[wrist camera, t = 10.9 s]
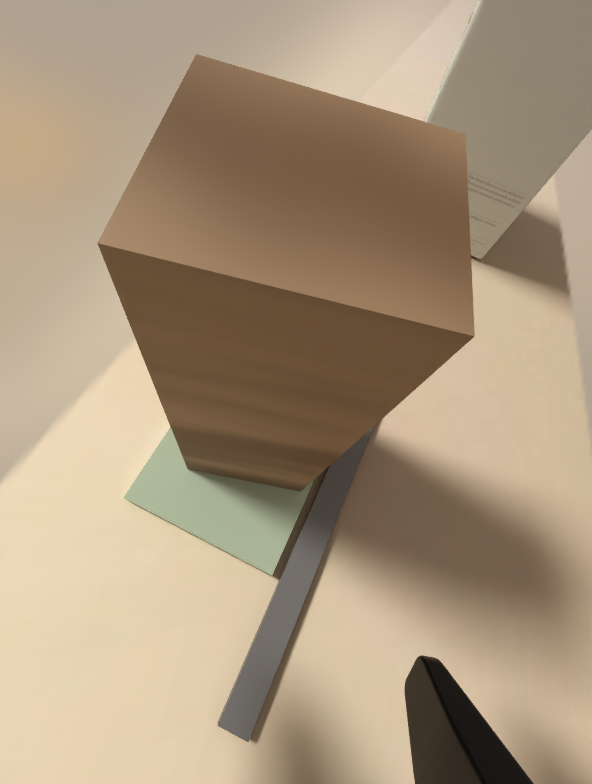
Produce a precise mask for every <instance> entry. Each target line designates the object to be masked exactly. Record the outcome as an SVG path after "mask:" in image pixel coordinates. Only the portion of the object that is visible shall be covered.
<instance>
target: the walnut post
mask: <svg viewBox="0 0 592 784" xmlns="http://www.w3.org/2000/svg"><path fill="white" fill-rule="evenodd" d="M98 246H99V248H100V251H101V253H102V255H103V258H104V261H105V263H106V265H107V268H108V271H109V273H110V276H111V278H112V281H113V283H114V286H115V288H116V291H117V293H118V296H119V298H120V301H121V303H122V306H123V308H124V311H125V313H126V316H127V318H128V321H129V323H130V326H131V328H132V331H133V333H134V336H135V338H136V341H137V344H138V346H139V349H140V351H141V354H142V356H143V359H144V361H145V364H146V366H147V369H148V371H149V374H150V376H151V379H152V381H153V384H154V386H155V389H156V391H157V394H158V396H159V399H160V401H161V404H162V406H163V409H164V411H165V414H166V416H167V419H168V421H169V424H170V426H171V429H172V431H173V434H174V436H175V439H176V441H177V444H178V446H179V449H180V451H181V454H182V456H183V459H184V462H185V464H186V467H187V469H190V470H195V471H200V472H205V473H210V474H215V475H220V476H225V477H230V478H235V479H240V480H245V481H250V482H255V483H260V484H265V485H270V486H275V487H280V488H285V489H290V490H295V491H300V492H301V491H302V490H303V489H304V488H305V487H306V486H307V485H308V484H309V483H311V482H312V481H313V480H314V479H315V478H316V477H317V476H318V475H320V474H321V473H322V472H323V471H324V470H325V469H326V468H327V467H329V466H330V465H331V464H332V463H333V462H334V461H335V460H336V459H337V458H339V457H340V456H341V455H342V454H343V453H344V452H345V451H346V450H348V449H349V448H350V447H351V446H352V445H353V444H354V443H355V442H357V441H358V440H359V439H360V438H361V437H362V436H363V435H364V434H366V433H367V432H368V431H369V430H370V429H371V428H372V427H373V426H374V425H376V424H377V423H378V422H379V421H380V420H381V419H382V418H383V417H385V416H386V415H387V414H388V413H389V412H390V411H391V410H392V409H394V408H395V407H396V406H397V405H398V404H399V403H400V402H401V401H402V400H404V399H405V398H406V397H407V396H408V395H409V394H410V393H411V392H413V391H414V390H415V389H416V388H417V387H418V386H419V385H420V384H422V383H423V382H424V381H425V380H426V379H427V378H428V377H429V376H431V375H432V374H433V373H434V372H435V371H436V370H437V369H438V368H439V367H441V366H442V365H443V364H444V363H445V362H446V361H447V360H448V359H450V358H451V357H452V356H453V355H454V354H455V353H456V352H457V351H459V350H460V349H461V348H462V347H463V346H464V345H465V344H466V343H468V342H469V341H470V340H471V339H472V338H473V337H474V315H473V292H472V269H471V246H470V223H469V200H468V177H467V154H466V134H464V133H460V132H457V131H454V130H450V129H447V128H443V127H440V126H437V125H433V124H430V123H427V122H423V121H420V120H417V119H413V118H410V117H406V116H403V115H400V114H396V113H393V112H390V111H386V110H383V109H379V108H376V107H373V106H369V105H366V104H363V103H359V102H356V101H352V100H349V99H346V98H342V97H339V96H335V95H332V94H329V93H326V92H322V91H319V90H315V89H312V88H309V87H305V86H302V85H298V84H295V83H292V82H288V81H285V80H282V79H278V78H275V77H271V76H268V75H265V74H261V73H258V72H255V71H251V70H248V69H245V68H241V67H238V66H235V65H231V64H228V63H224V62H221V61H218V60H214V59H211V58H207V57H204V56H201V55H197V54H196V56H195V58H194V60H193V61H192V63H191V65H190V67H189V69H188V71H187V73H186V75H185V77H184V79H183V81H182V83H181V85H180V86H179V88H178V90H177V92H176V94H175V96H174V98H173V100H172V102H171V104H170V105H169V108H168V110H167V111H166V113H165V115H164V117H163V119H162V121H161V123H160V125H159V127H158V128H157V130H156V132H155V134H154V136H153V138H152V140H151V142H150V144H149V146H148V148H147V149H146V152H145V153H144V155H143V157H142V159H141V161H140V163H139V165H138V167H137V169H136V171H135V172H134V174H133V176H132V178H131V180H130V182H129V184H128V186H127V188H126V190H125V192H124V193H123V195H122V197H121V199H120V201H119V203H118V205H117V207H116V209H115V211H114V213H113V215H112V216H111V218H110V220H109V222H108V224H107V226H106V228H105V230H104V232H103V234H102V236H101V237H100V239H99V241H98Z"/></svg>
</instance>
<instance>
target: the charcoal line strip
mask: <svg viewBox="0 0 592 784" xmlns="http://www.w3.org/2000/svg"><path fill="white" fill-rule="evenodd" d="M373 427H374V426H373ZM373 427H372V428H371V429H370V430H369V431H368V432H367V433H366V434H364V435H363V436H362V437H361V438H360V439H359V440H358V441H357V442H355V443H354V444H353V445H352V446H351V447H350V448H349V449H348V450H346V451H345V452H344V453H343V454H342V455H341V456H340V457H339V458H337V459H336V460H335V461H334V462H333V463H332V464H331V465H330V466H329V467H328V469H327V472H326V474H325V476H324V479H323V481H322V483H321V486H320V488H319V490H318V492H317V495H316V497H315V499H314V502H313V504H312V506H311V509H310V511H309V513H308V516H307V518H306V520H305V522H304V525H303V527H302V529H301V532H300V534H299V536H298V539H297V541H296V543H295V546H294V548H293V550H292V552H291V555H290V557H289V559H288V562H287V564H286V566H285V569H284V571H283V573H282V575H281V578H280V580H279V582H278V585H277V587H276V589H275V592H274V594H273V596H272V599H271V601H270V603H269V605H268V608H267V610H266V612H265V615H264V617H263V619H262V622H261V624H260V626H259V629H258V631H257V633H256V635H255V638H254V640H253V642H252V645H251V647H250V649H249V652H248V654H247V656H246V659H245V661H244V663H243V665H242V668H241V670H240V672H239V675H238V677H237V679H236V682H235V684H234V686H233V689H232V691H231V693H230V695H229V698H228V700H227V702H226V705H225V707H224V709H223V712H222V714H221V716H220V719H219V721H218V726H219V727H221V728H223V729H225V730H227V731H229V732H230V733H232V734H234V735H236V736H238V737H240V738H242V739H243V740H245V741H247V742H249V739H250V737H251V734H252V732H253V729H254V727H255V724H256V722H257V719H258V717H259V714H260V712H261V709H262V707H263V704H264V702H265V699H266V696H267V694H268V691H269V689H270V686H271V684H272V681H273V679H274V676H275V674H276V671H277V669H278V666H279V664H280V661H281V659H282V656H283V654H284V651H285V649H286V646H287V644H288V641H289V638H290V636H291V633H292V631H293V628H294V626H295V623H296V621H297V618H298V616H299V613H300V611H301V608H302V606H303V603H304V601H305V598H306V596H307V593H308V591H309V588H310V586H311V583H312V580H313V578H314V575H315V573H316V570H317V568H318V565H319V563H320V560H321V558H322V555H323V553H324V550H325V548H326V545H327V543H328V540H329V538H330V535H331V533H332V530H333V528H334V525H335V522H336V520H337V517H338V515H339V512H340V510H341V507H342V505H343V502H344V500H345V497H346V495H347V492H348V490H349V487H350V485H351V482H352V480H353V477H354V475H355V472H356V470H357V467H358V464H359V462H360V459H361V457H362V454H363V452H364V449H365V447H366V444H367V442H368V439H369V437H370V434H371V432H372V429H373Z"/></svg>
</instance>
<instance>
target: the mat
mask: <svg viewBox="0 0 592 784" xmlns="http://www.w3.org/2000/svg"><path fill="white" fill-rule="evenodd" d="M314 480H315V479H314ZM314 480H313V481H312V482H311V483H309V484H308V485H307V486H306V487H305V488H304V489H303V490H302V491H301V492H300V491H295V490H290V489H285V488H280V487H275V486H270V485H265V484H260V483H255V482H250V481H245V480H240V479H235V478H230V477H225V476H220V475H215V474H210V473H205V472H200V471H195V470H190V469H187V467H186V464H185V462H184V459H183V456H182V454H181V451H180V449H179V446H178V444H177V441H176V439H175V436H174V434H173V431H172V429H171V427H170V429H169V430H168V432H167V433H166V435H165V436H164V438H163V439H162V441H161V442H160V444H159V445H158V447H157V448H156V450H155V451H154V453H153V454H152V456H151V457H150V459H149V460H148V462H147V463H146V465H145V466H144V468H143V469H142V471H141V472H140V474H139V475H138V477H137V478H136V480H135V481H134V483H133V484H132V486H131V487H130V489H129V490H128V492H127V493H126V495H125V496H124V498H125V499H126V500H128V501H130V502H132V503H134V504H136V505H138V506H140V507H142V508H144V509H145V510H147V511H149V512H151V513H153V514H155V515H157V516H159V517H161V518H163V519H165V520H166V521H168V522H170V523H172V524H174V525H176V526H178V527H180V528H182V529H184V530H186V531H187V532H189V533H191V534H193V535H195V536H197V537H199V538H201V539H203V540H205V541H207V542H208V543H210V544H212V545H214V546H216V547H218V548H220V549H222V550H224V551H226V552H227V553H229V554H231V555H233V556H235V557H237V558H239V559H241V560H243V561H245V562H247V563H248V564H250V565H252V566H254V567H256V568H258V569H260V570H262V571H264V572H266V573H268V574H269V575H273V572H274V570H275V568H276V566H277V563H278V561H279V559H280V557H281V554H282V552H283V550H284V548H285V545H286V543H287V541H288V539H289V536H290V534H291V532H292V530H293V527H294V525H295V523H296V521H297V518H298V516H299V514H300V512H301V509H302V507H303V505H304V503H305V500H306V498H307V496H308V494H309V491H310V489H311V487H312V485H313V482H314Z"/></svg>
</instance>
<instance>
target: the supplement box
mask: <svg viewBox="0 0 592 784" xmlns="http://www.w3.org/2000/svg"><path fill="white" fill-rule="evenodd" d="M424 122H427V123H430V124H433V125H437V126H440V127H443V128H447V129H450V130H454V131H457V132H460V133H464V134H466V154H467V177H468V200H469V223H470V246H471V256H474V257H476V258H478V259H482V258H483V257H484V256H485V255H486V253H487V252H488V251H489V250H490V249H491V248H492V246H493V245H494V244H495V243H496V242H497V240H498V239H499V238H500V237H501V236H502V234H503V233H504V232H505V231H506V230H507V229H508V227H509V226H510V225H511V224H512V223H513V221H514V220H515V219H516V218H517V217H518V216H519V214H520V213H521V212H522V211H523V210H524V208H525V207H526V206H527V205H528V204H529V202H530V201H531V200H532V199H533V198H534V197H535V195H536V194H537V193H538V192H539V191H540V190H541V188H542V187H543V186H544V185H545V184H546V182H547V181H548V180H549V179H550V178H551V177H552V175H553V174H554V173H555V172H556V171H557V169H558V168H559V167H560V166H561V165H562V164H563V162H564V161H565V160H566V159H567V158H568V156H569V155H570V154H571V153H572V152H573V151H574V149H575V148H576V147H577V146H578V145H579V143H580V142H581V141H582V140H583V139H584V138H585V136H586V135H587V134H588V133H589V132H590V130H591V129H592V0H478V1H477V3H476V5H475V8H474V10H473V12H472V14H471V17H470V19H469V21H468V23H467V26H466V28H465V30H464V32H463V35H462V37H461V39H460V42H459V44H458V46H457V48H456V51H455V53H454V55H453V58H452V60H451V62H450V64H449V67H448V69H447V71H446V73H445V76H444V78H443V80H442V82H441V85H440V87H439V89H438V91H437V94H436V96H435V98H434V100H433V103H432V105H431V107H430V109H429V112H428V114H427V116H426V118H425V120H424Z"/></svg>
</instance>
